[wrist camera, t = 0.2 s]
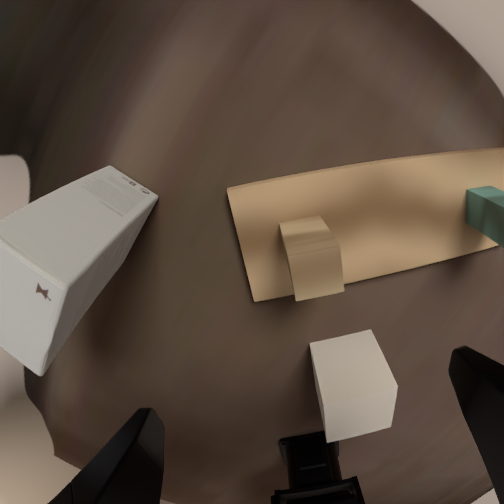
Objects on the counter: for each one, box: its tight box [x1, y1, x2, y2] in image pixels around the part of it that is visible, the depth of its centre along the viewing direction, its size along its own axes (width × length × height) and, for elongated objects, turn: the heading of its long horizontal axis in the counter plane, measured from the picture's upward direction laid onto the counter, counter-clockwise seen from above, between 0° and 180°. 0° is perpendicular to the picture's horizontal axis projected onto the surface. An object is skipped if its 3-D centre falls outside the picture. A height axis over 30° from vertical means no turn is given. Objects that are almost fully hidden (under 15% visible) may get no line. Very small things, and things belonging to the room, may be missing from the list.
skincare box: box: [0, 166, 159, 376], centre depth 15 cm, size 6×4×12 cm
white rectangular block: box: [309, 329, 398, 443], centre depth 23 cm, size 5×5×7 cm
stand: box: [227, 147, 504, 302], centre depth 18 cm, size 8×22×6 cm, turn 102°
